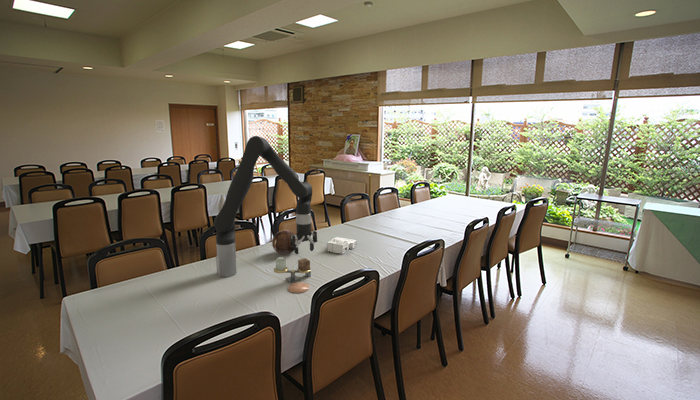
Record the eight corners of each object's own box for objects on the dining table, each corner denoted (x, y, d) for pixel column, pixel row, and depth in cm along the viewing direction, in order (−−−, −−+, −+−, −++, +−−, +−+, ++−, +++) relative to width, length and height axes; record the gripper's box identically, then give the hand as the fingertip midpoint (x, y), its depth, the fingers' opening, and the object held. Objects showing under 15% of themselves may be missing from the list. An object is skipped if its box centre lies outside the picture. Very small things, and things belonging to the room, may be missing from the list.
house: (348, 257, 209) (348, 247, 208) (321, 252, 216) (321, 243, 215) (362, 246, 229) (362, 237, 228) (336, 242, 236) (337, 233, 235)
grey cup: (278, 271, 168) (278, 261, 166) (274, 268, 171) (274, 257, 170) (287, 269, 170) (287, 259, 169) (283, 266, 174) (282, 256, 173)
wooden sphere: (294, 248, 222) (294, 226, 219) (299, 256, 208) (299, 232, 205) (270, 251, 216) (270, 228, 213) (274, 259, 203) (274, 235, 200)
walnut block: (302, 271, 176) (302, 262, 175) (298, 268, 180) (298, 259, 179) (310, 269, 179) (310, 260, 178) (305, 267, 182) (305, 258, 181)
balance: (277, 287, 168) (277, 273, 166) (271, 282, 173) (271, 268, 172) (313, 277, 179) (313, 264, 178) (306, 273, 185) (306, 260, 183)
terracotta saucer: (294, 295, 160) (294, 293, 160) (284, 287, 168) (284, 285, 168) (312, 289, 166) (312, 288, 166) (302, 282, 174) (302, 280, 174)
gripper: (294, 225, 167) (295, 257, 170) (319, 221, 175) (319, 251, 179) (287, 222, 173) (288, 253, 176) (312, 218, 181) (312, 247, 185)
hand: (304, 252), depth 177 cm, fingers open, 8 cm apart
